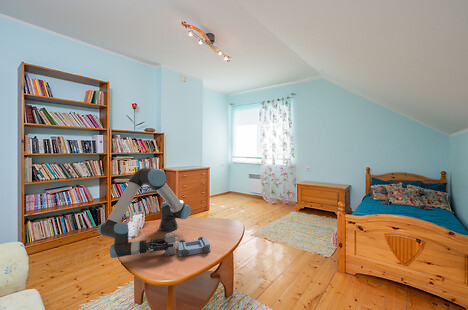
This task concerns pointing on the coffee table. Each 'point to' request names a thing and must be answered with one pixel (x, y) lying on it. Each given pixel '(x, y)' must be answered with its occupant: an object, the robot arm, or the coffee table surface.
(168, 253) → the block
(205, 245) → the chassis
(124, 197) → the robot arm
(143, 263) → the coffee table surface
